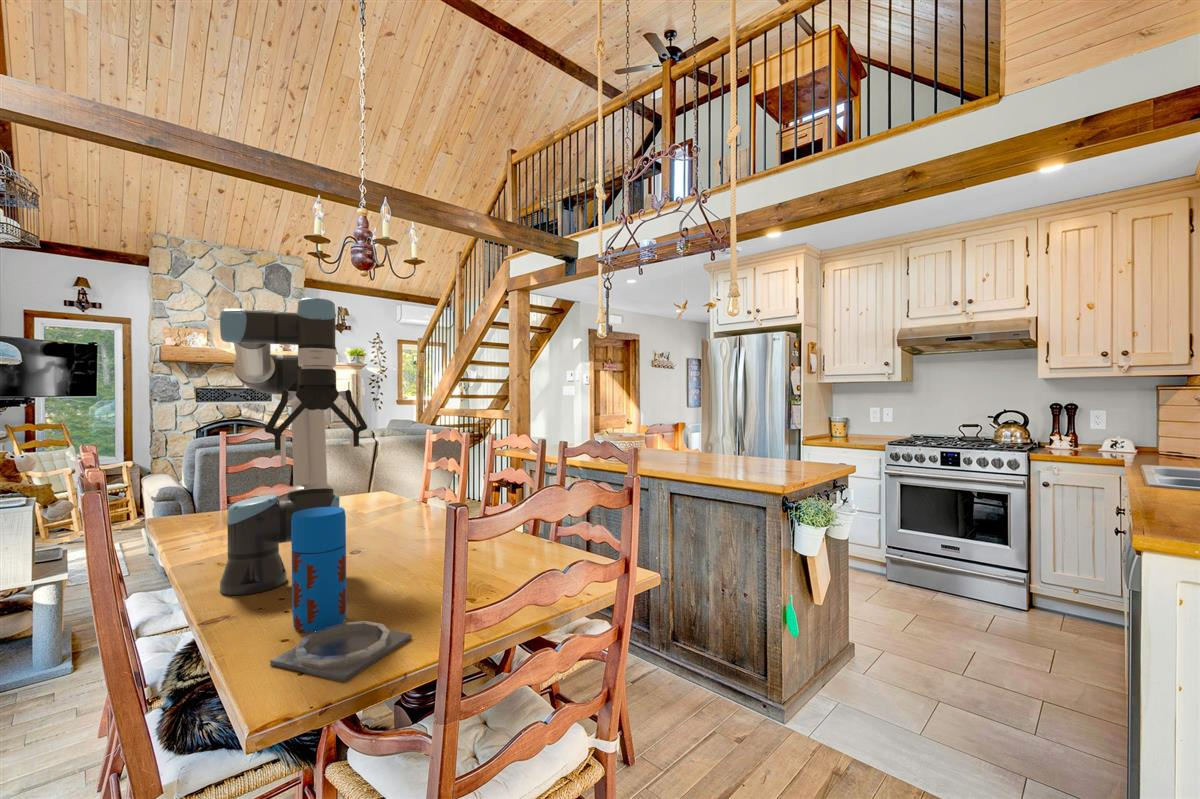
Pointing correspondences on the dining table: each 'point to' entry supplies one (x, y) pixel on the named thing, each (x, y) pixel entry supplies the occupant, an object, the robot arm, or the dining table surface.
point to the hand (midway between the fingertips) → (318, 463)
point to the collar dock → (341, 650)
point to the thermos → (318, 568)
